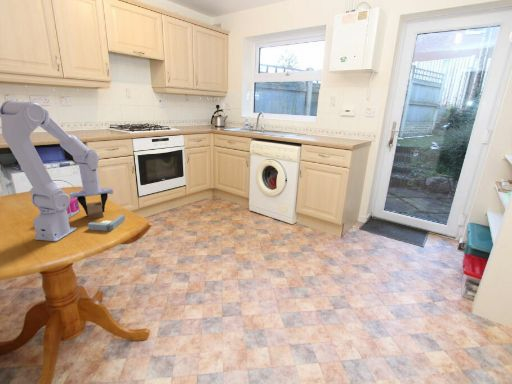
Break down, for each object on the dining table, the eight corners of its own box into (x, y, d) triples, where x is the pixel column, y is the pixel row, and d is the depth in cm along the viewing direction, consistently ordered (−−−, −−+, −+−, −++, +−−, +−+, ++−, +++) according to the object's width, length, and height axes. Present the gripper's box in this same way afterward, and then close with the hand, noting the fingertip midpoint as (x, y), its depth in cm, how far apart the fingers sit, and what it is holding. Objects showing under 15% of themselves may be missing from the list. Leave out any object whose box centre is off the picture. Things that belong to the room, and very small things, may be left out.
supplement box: (80, 211, 115) (63, 223, 104) (66, 210, 115) (47, 222, 104) (78, 198, 113) (60, 209, 102) (63, 197, 113) (43, 208, 102)
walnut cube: (103, 217, 110) (101, 205, 109) (88, 219, 108) (86, 207, 106) (102, 212, 114) (101, 201, 113) (88, 214, 112) (87, 203, 110)
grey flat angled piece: (110, 231, 99) (110, 225, 98) (88, 229, 100) (87, 223, 99) (125, 220, 108) (124, 215, 107) (104, 218, 109) (104, 213, 108)
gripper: (110, 175, 113) (114, 206, 117) (68, 179, 106) (74, 211, 110) (111, 180, 107) (116, 212, 111) (67, 184, 100) (73, 218, 105)
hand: (95, 212), depth 111 cm, fingers closed on walnut cube, 5 cm apart
